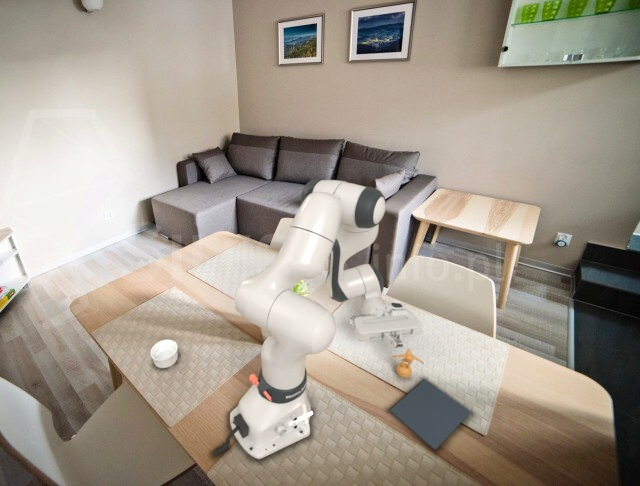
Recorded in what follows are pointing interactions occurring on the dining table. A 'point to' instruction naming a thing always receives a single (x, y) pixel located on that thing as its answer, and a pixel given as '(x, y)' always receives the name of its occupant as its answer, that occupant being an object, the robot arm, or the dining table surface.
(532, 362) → the dining table surface
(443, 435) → the felt mat
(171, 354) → the ramekin
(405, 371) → the figurine
